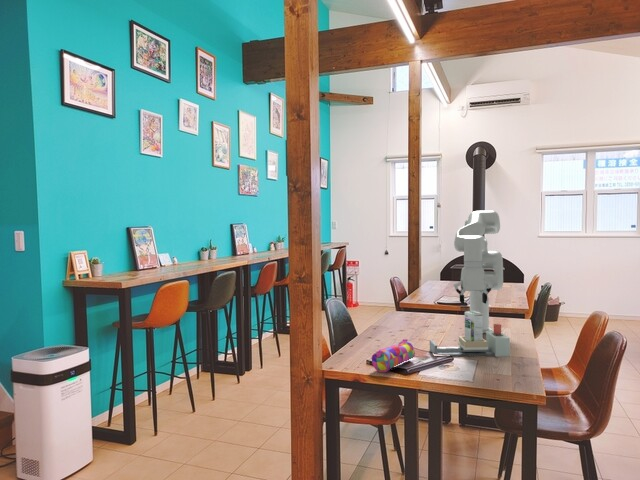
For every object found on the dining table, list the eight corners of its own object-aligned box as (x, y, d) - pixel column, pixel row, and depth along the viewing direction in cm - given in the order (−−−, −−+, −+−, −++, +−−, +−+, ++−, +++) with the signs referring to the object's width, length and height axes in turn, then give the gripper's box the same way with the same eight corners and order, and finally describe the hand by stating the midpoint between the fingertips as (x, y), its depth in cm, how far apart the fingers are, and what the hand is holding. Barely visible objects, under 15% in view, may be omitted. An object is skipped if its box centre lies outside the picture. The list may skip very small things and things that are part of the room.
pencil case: (396, 357, 198) (396, 337, 198) (416, 361, 192) (416, 340, 192) (370, 371, 181) (369, 349, 181) (390, 376, 175) (390, 352, 175)
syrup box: (464, 343, 204) (463, 311, 203) (475, 342, 206) (474, 310, 205) (472, 346, 199) (471, 313, 198) (483, 345, 200) (483, 312, 200)
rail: (429, 350, 208) (429, 339, 207) (486, 349, 207) (486, 338, 207) (434, 356, 198) (434, 345, 197) (494, 355, 197) (494, 344, 197)
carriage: (457, 347, 207) (457, 336, 207) (480, 346, 207) (480, 335, 207) (464, 353, 197) (464, 341, 197) (488, 352, 197) (488, 341, 197)
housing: (486, 348, 208) (486, 331, 208) (499, 348, 208) (499, 331, 208) (495, 356, 196) (495, 338, 196) (509, 356, 196) (509, 337, 196)
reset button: (492, 339, 203) (492, 323, 203) (499, 339, 203) (499, 323, 203) (495, 341, 200) (495, 325, 200) (502, 341, 200) (502, 325, 200)
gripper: (489, 263, 204) (490, 301, 205) (451, 264, 205) (451, 302, 206) (495, 265, 197) (496, 304, 198) (455, 266, 197) (456, 305, 198)
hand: (473, 303), depth 202 cm, fingers open, 9 cm apart
